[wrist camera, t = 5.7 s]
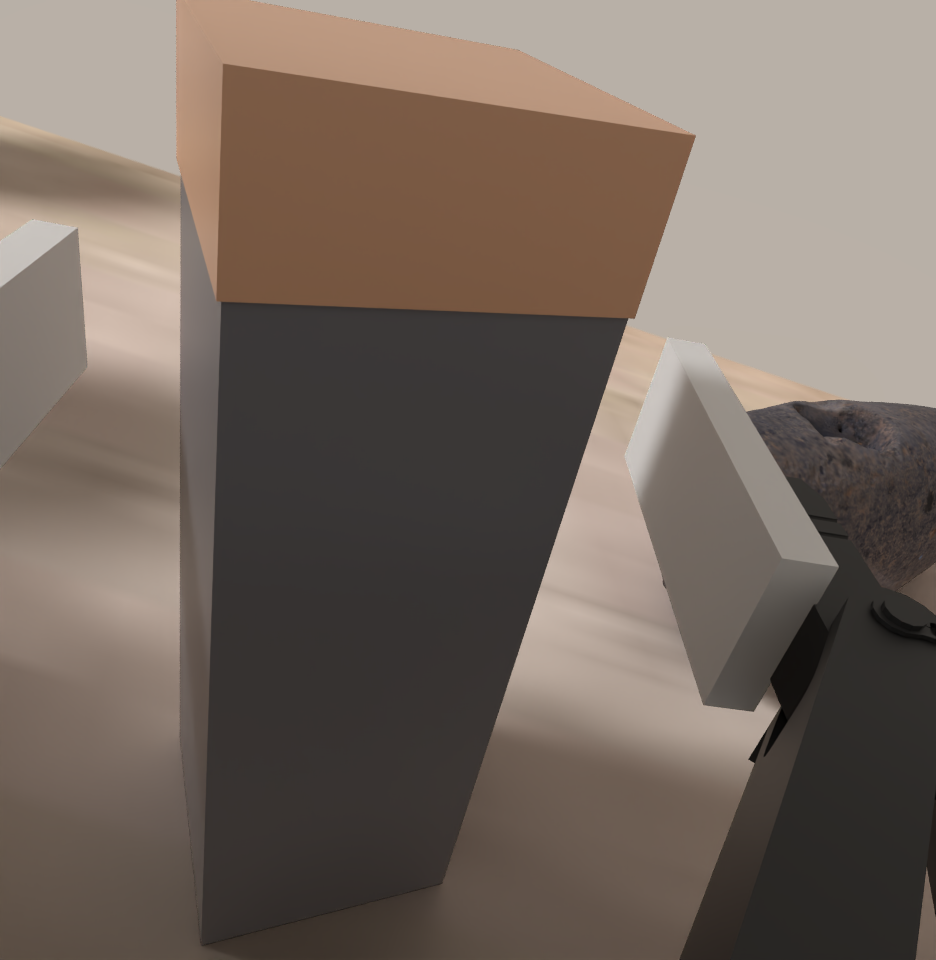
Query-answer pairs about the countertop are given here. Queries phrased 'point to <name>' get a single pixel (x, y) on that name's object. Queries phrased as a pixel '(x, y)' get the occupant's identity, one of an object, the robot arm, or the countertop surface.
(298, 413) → the plug
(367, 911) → the countertop surface
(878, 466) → the perforated stone tool
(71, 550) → the countertop surface
